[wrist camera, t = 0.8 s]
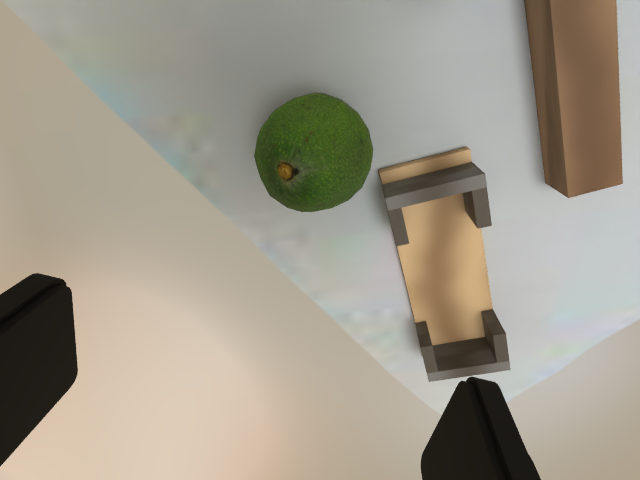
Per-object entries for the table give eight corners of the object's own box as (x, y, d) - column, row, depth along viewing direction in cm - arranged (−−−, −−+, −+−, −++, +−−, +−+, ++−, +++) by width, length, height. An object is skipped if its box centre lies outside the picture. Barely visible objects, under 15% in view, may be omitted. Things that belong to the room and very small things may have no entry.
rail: (466, 146, 30) (483, 159, 26) (495, 344, 38) (511, 378, 34) (379, 169, 32) (381, 185, 28) (423, 355, 39) (430, 389, 35)
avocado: (326, 65, 29) (306, 67, 18) (389, 146, 31) (406, 192, 20) (252, 136, 32) (196, 174, 21) (315, 206, 34) (294, 275, 23)
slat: (578, -32, 25) (614, -47, 22) (591, 169, 30) (622, 183, 27) (521, -10, 26) (548, -22, 22) (544, 182, 31) (568, 197, 28)
